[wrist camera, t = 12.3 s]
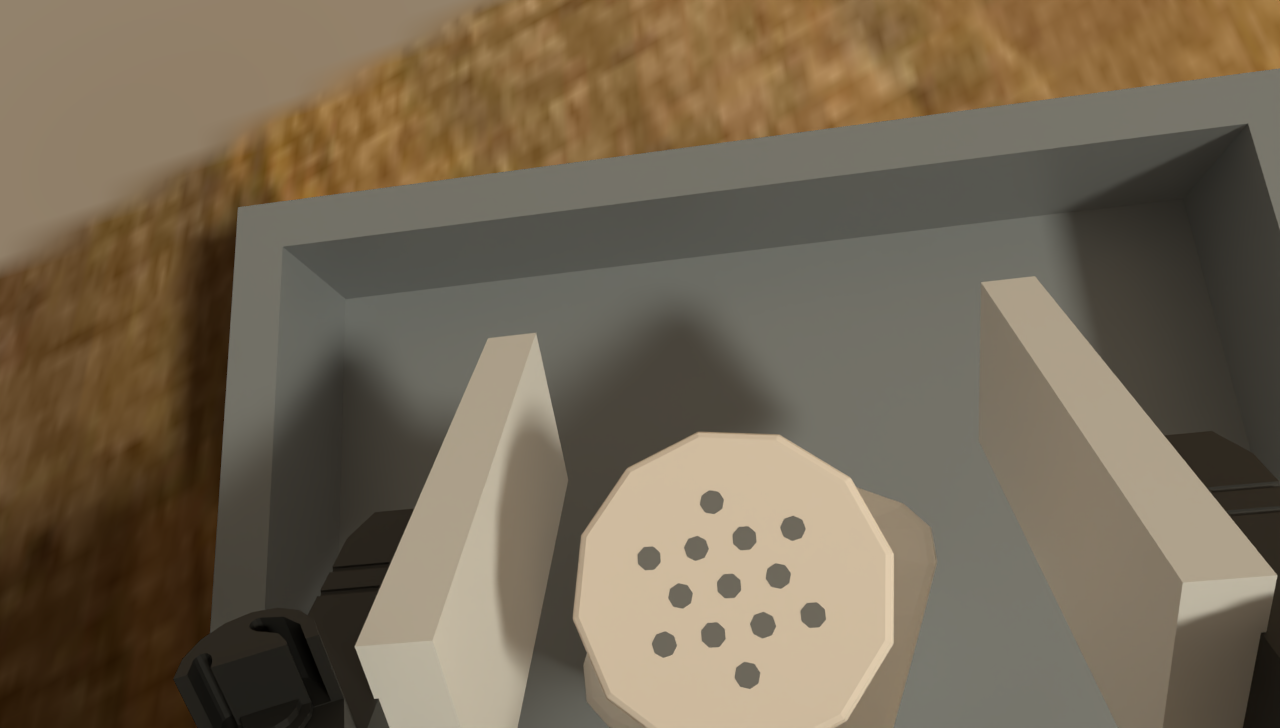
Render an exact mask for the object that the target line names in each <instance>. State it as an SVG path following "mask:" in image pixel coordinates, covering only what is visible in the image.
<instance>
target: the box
mask: <svg viewBox="0 0 1280 728" xmlns="http://www.w3.org/2000/svg"><path fill="white" fill-rule="evenodd" d="M1032 276H1035V277H1036V278H1037V279H1038V281H1039V282H1040V283H1041V284H1042V286H1043V287H1044V288H1045V289H1046V291H1047V292H1048V293H1049V294H1050V295H1051V297H1052V298H1053V299H1054V300H1055V302H1056V303H1057V304H1058V305H1059V307H1060V308H1061V309H1062V310H1063V311H1064V313H1065V314H1066V315H1067V316H1068V318H1069V319H1070V320H1071V321H1072V323H1073V324H1074V325H1075V326H1076V327H1077V329H1078V330H1079V331H1080V332H1081V334H1082V335H1083V336H1084V337H1085V339H1086V340H1087V341H1088V342H1089V344H1090V345H1091V346H1092V347H1093V348H1094V350H1095V351H1096V352H1097V353H1098V355H1099V356H1100V357H1101V358H1102V360H1103V361H1104V362H1105V363H1106V364H1107V366H1108V367H1109V368H1110V369H1111V371H1112V372H1113V373H1114V374H1115V376H1116V377H1117V378H1118V379H1119V381H1120V382H1121V383H1122V384H1123V385H1124V387H1125V388H1126V389H1127V390H1128V392H1129V393H1130V394H1131V395H1132V397H1133V398H1134V399H1135V400H1136V401H1137V403H1138V404H1139V405H1140V406H1141V408H1142V409H1143V410H1144V411H1145V413H1146V414H1147V415H1148V416H1149V418H1150V419H1151V420H1152V421H1153V422H1154V424H1155V425H1156V426H1157V427H1158V429H1159V430H1160V431H1161V432H1162V434H1163V435H1174V434H1184V433H1195V432H1206V431H1213V432H1215V433H1217V434H1218V435H1220V436H1222V437H1224V438H1226V439H1228V440H1230V441H1231V442H1233V443H1235V444H1237V445H1239V446H1241V447H1242V448H1244V449H1246V450H1248V451H1250V452H1252V453H1253V454H1254V455H1255V456H1256V457H1257V458H1258V459H1259V460H1260V461H1261V462H1262V463H1263V465H1264V466H1265V467H1266V468H1267V469H1268V470H1269V471H1270V472H1271V473H1272V474H1273V475H1274V476H1275V477H1276V478H1277V479H1278V481H1279V485H1280V69H1273V70H1265V71H1258V72H1250V73H1243V74H1235V75H1228V76H1220V77H1213V78H1205V79H1198V80H1190V81H1183V82H1175V83H1168V84H1160V85H1153V86H1145V87H1138V88H1130V89H1123V90H1115V91H1108V92H1100V93H1093V94H1085V95H1078V96H1070V97H1063V98H1055V99H1048V100H1040V101H1033V102H1025V103H1018V104H1010V105H1003V106H995V107H988V108H980V109H973V110H965V111H958V112H950V113H943V114H935V115H928V116H920V117H913V118H905V119H898V120H890V121H883V122H875V123H868V124H860V125H853V126H845V127H838V128H830V129H823V130H815V131H808V132H800V133H793V134H785V135H778V136H770V137H763V138H755V139H748V140H740V141H733V142H725V143H718V144H710V145H703V146H695V147H688V148H680V149H673V150H665V151H658V152H650V153H643V154H635V155H628V156H620V157H613V158H605V159H598V160H590V161H583V162H575V163H568V164H560V165H553V166H545V167H538V168H530V169H523V170H515V171H508V172H500V173H493V174H485V175H478V176H470V177H463V178H455V179H448V180H440V181H433V182H425V183H418V184H410V185H403V186H395V187H388V188H380V189H373V190H365V191H358V192H350V193H343V194H335V195H327V196H320V197H312V198H305V199H297V200H290V201H282V202H275V203H267V204H260V205H252V206H245V207H238V217H237V232H236V247H235V262H234V277H233V293H232V308H231V323H230V338H229V353H228V369H227V384H226V399H225V414H224V429H223V444H222V460H221V475H220V490H219V505H218V520H217V536H216V551H215V566H214V581H213V596H212V611H211V627H210V633H211V632H213V631H214V630H216V629H217V628H219V627H220V626H222V625H223V624H225V623H227V622H229V621H232V620H234V619H237V618H239V617H241V616H244V615H246V614H249V613H251V612H256V611H261V610H267V609H273V608H286V609H295V610H300V611H302V612H303V613H305V614H306V615H308V613H309V611H310V609H311V607H312V606H313V604H314V602H315V600H316V598H317V596H320V595H321V591H320V590H321V588H322V586H323V584H324V582H325V580H326V578H327V576H328V574H329V573H330V572H333V568H332V567H333V565H334V563H335V561H336V559H337V557H338V555H339V553H340V551H341V549H342V547H343V545H344V543H345V541H346V539H347V538H348V537H349V536H350V535H351V534H352V533H353V532H354V531H355V530H356V529H357V528H359V527H360V526H361V525H362V524H363V523H364V522H365V521H366V520H367V519H368V518H369V517H370V516H371V515H372V514H373V513H374V512H382V511H393V510H404V509H414V508H415V506H416V504H417V501H418V499H419V497H420V494H421V492H422V490H423V487H424V485H425V483H426V481H427V478H428V476H429V474H430V471H431V469H432V467H433V464H434V462H435V460H436V457H437V455H438V453H439V450H440V448H441V446H442V444H443V441H444V439H445V437H446V434H447V432H448V430H449V427H450V425H451V423H452V420H453V418H454V416H455V413H456V411H457V409H458V407H459V404H460V402H461V400H462V397H463V395H464V393H465V390H466V388H467V386H468V383H469V381H470V379H471V376H472V374H473V372H474V370H475V367H476V365H477V363H478V360H479V358H480V356H481V353H482V351H483V349H484V346H485V344H486V342H487V339H488V338H494V337H503V336H512V335H520V334H529V333H536V335H537V339H538V344H539V348H540V353H541V357H542V362H543V367H544V371H545V376H546V380H547V385H548V389H549V394H550V399H551V403H552V408H553V412H554V417H555V421H556V426H557V430H558V435H559V440H560V444H561V449H562V453H563V458H564V462H565V467H566V472H567V476H568V484H567V488H566V493H565V498H564V503H563V508H562V513H561V518H560V523H559V527H558V532H557V537H556V542H555V547H554V552H553V557H552V562H551V567H550V571H549V576H548V581H547V586H546V591H545V596H544V601H543V606H542V610H541V615H540V620H539V625H538V630H537V635H536V640H535V645H534V649H533V654H532V659H531V664H530V669H529V674H528V679H527V684H526V688H525V693H524V698H523V703H522V708H521V713H520V718H519V723H518V728H610V727H608V725H607V724H606V723H605V722H604V721H603V720H602V719H601V717H600V716H599V715H598V714H597V713H596V712H595V711H594V710H593V708H592V707H591V706H590V705H589V704H588V703H587V700H586V689H585V678H584V667H583V665H584V661H585V658H586V655H587V652H586V650H585V647H584V645H583V642H582V640H581V638H580V635H579V633H578V631H577V628H576V626H575V624H574V621H573V610H574V600H575V590H576V580H577V571H578V561H579V551H580V541H581V535H582V533H583V532H584V530H585V529H586V527H587V526H588V524H589V523H590V522H591V520H592V519H593V517H594V516H595V514H596V513H597V511H598V510H599V508H600V507H601V505H602V504H603V502H604V501H605V499H606V498H607V497H608V495H609V494H610V492H611V491H612V489H613V488H614V486H615V485H616V483H617V482H618V480H619V479H620V477H621V476H622V474H623V473H624V472H625V470H626V469H627V468H628V467H630V466H632V465H634V464H636V463H638V462H640V461H642V460H644V459H646V458H648V457H650V456H651V455H653V454H655V453H657V452H659V451H661V450H663V449H665V448H667V447H669V446H671V445H673V444H675V443H677V442H679V441H681V440H683V439H685V438H687V437H689V436H691V435H693V434H695V433H696V432H723V433H752V434H779V435H781V436H782V437H784V438H786V439H787V440H789V441H791V442H792V443H794V444H796V445H797V446H799V447H801V448H802V449H804V450H806V451H807V452H809V453H811V454H812V455H814V456H816V457H817V458H819V459H821V460H822V461H824V462H825V463H827V464H829V465H830V466H832V467H834V468H835V469H837V470H839V471H840V472H842V473H844V474H845V475H847V476H849V477H850V478H851V479H852V481H853V483H854V484H855V486H856V487H858V488H860V489H863V490H866V491H869V492H872V493H875V494H878V495H880V496H883V497H886V498H889V499H892V500H895V501H898V502H900V503H903V504H905V505H906V506H907V507H908V508H909V509H910V510H911V511H913V512H914V513H915V514H916V515H917V516H918V517H919V518H921V519H922V520H923V521H924V522H925V523H926V524H927V525H929V526H930V527H931V530H932V535H933V541H934V546H935V552H936V557H937V564H936V568H935V572H934V576H933V580H932V584H931V588H930V592H929V596H928V600H927V604H926V608H925V612H924V616H923V620H922V623H921V627H920V631H919V635H918V639H917V642H916V646H915V650H914V654H913V658H912V661H911V665H910V669H909V673H908V676H907V680H906V683H905V687H904V691H903V694H902V698H901V702H900V705H899V709H898V713H897V716H896V720H895V723H894V727H893V728H1118V726H1117V724H1116V722H1115V720H1114V718H1113V716H1112V714H1111V712H1110V710H1109V708H1108V706H1107V704H1106V702H1105V700H1104V698H1103V696H1102V693H1101V691H1100V689H1099V687H1098V685H1097V683H1096V681H1095V679H1094V677H1093V675H1092V673H1091V671H1090V669H1089V667H1088V665H1087V663H1086V661H1085V658H1084V656H1083V654H1082V652H1081V650H1080V648H1079V646H1078V644H1077V642H1076V640H1075V638H1074V636H1073V634H1072V632H1071V630H1070V628H1069V625H1068V623H1067V621H1066V619H1065V617H1064V615H1063V613H1062V611H1061V609H1060V607H1059V605H1058V603H1057V601H1056V599H1055V597H1054V595H1053V593H1052V590H1051V588H1050V586H1049V584H1048V582H1047V580H1046V578H1045V576H1044V574H1043V572H1042V570H1041V568H1040V566H1039V564H1038V562H1037V560H1036V558H1035V555H1034V553H1033V551H1032V549H1031V547H1030V545H1029V543H1028V541H1027V539H1026V537H1025V535H1024V533H1023V531H1022V529H1021V527H1020V525H1019V523H1018V520H1017V518H1016V516H1015V514H1014V512H1013V510H1012V508H1011V506H1010V504H1009V502H1008V500H1007V498H1006V496H1005V494H1004V492H1003V490H1002V488H1001V485H1000V483H999V481H998V479H997V477H996V475H995V473H994V471H993V469H992V467H991V465H990V463H989V461H988V459H987V457H986V455H985V453H984V450H983V448H982V446H981V444H980V442H979V384H980V313H981V282H988V281H997V280H1005V279H1014V278H1023V277H1032Z"/></svg>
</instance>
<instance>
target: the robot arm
mask: <svg viewBox="0 0 1280 728" xmlns="http://www.w3.org/2000/svg"><path fill="white" fill-rule="evenodd" d="M979 442H980V444H981V446H982V448H983V450H984V453H985V455H986V457H987V459H988V461H989V463H990V465H991V467H992V469H993V471H994V473H995V475H996V477H997V479H998V481H999V483H1000V485H1001V488H1002V490H1003V492H1004V494H1005V496H1006V498H1007V500H1008V502H1009V504H1010V506H1011V508H1012V510H1013V512H1014V514H1015V516H1016V518H1017V520H1018V523H1019V525H1020V527H1021V529H1022V531H1023V533H1024V535H1025V537H1026V539H1027V541H1028V543H1029V545H1030V547H1031V549H1032V551H1033V553H1034V555H1035V558H1036V560H1037V562H1038V564H1039V566H1040V568H1041V570H1042V572H1043V574H1044V576H1045V578H1046V580H1047V582H1048V584H1049V586H1050V588H1051V590H1052V593H1053V595H1054V597H1055V599H1056V601H1057V603H1058V605H1059V607H1060V609H1061V611H1062V613H1063V615H1064V617H1065V619H1066V621H1067V623H1068V625H1069V628H1070V630H1071V632H1072V634H1073V636H1074V638H1075V640H1076V642H1077V644H1078V646H1079V648H1080V650H1081V652H1082V654H1083V656H1084V658H1085V661H1086V663H1087V665H1088V667H1089V669H1090V671H1091V673H1092V675H1093V677H1094V679H1095V681H1096V683H1097V685H1098V687H1099V689H1100V691H1101V693H1102V696H1103V698H1104V700H1105V702H1106V704H1107V706H1108V708H1109V710H1110V712H1111V714H1112V716H1113V718H1114V720H1115V722H1116V724H1117V726H1118V728H1280V485H1279V481H1278V479H1277V478H1276V477H1275V476H1274V475H1273V474H1272V473H1271V472H1270V471H1269V470H1268V469H1267V468H1266V467H1265V466H1264V465H1263V463H1262V462H1261V461H1260V460H1259V459H1258V458H1257V457H1256V456H1255V455H1254V454H1253V453H1252V452H1250V451H1248V450H1246V449H1244V448H1242V447H1241V446H1239V445H1237V444H1235V443H1233V442H1231V441H1230V440H1228V439H1226V438H1224V437H1222V436H1220V435H1218V434H1217V433H1215V432H1213V431H1206V432H1195V433H1184V434H1174V435H1163V434H1162V432H1161V431H1160V430H1159V429H1158V427H1157V426H1156V425H1155V424H1154V422H1153V421H1152V420H1151V419H1150V418H1149V416H1148V415H1147V414H1146V413H1145V411H1144V410H1143V409H1142V408H1141V406H1140V405H1139V404H1138V403H1137V401H1136V400H1135V399H1134V398H1133V397H1132V395H1131V394H1130V393H1129V392H1128V390H1127V389H1126V388H1125V387H1124V385H1123V384H1122V383H1121V382H1120V381H1119V379H1118V378H1117V377H1116V376H1115V374H1114V373H1113V372H1112V371H1111V369H1110V368H1109V367H1108V366H1107V364H1106V363H1105V362H1104V361H1103V360H1102V358H1101V357H1100V356H1099V355H1098V353H1097V352H1096V351H1095V350H1094V348H1093V347H1092V346H1091V345H1090V344H1089V342H1088V341H1087V340H1086V339H1085V337H1084V336H1083V335H1082V334H1081V332H1080V331H1079V330H1078V329H1077V327H1076V326H1075V325H1074V324H1073V323H1072V321H1071V320H1070V319H1069V318H1068V316H1067V315H1066V314H1065V313H1064V311H1063V310H1062V309H1061V308H1060V307H1059V305H1058V304H1057V303H1056V302H1055V300H1054V299H1053V298H1052V297H1051V295H1050V294H1049V293H1048V292H1047V291H1046V289H1045V288H1044V287H1043V286H1042V284H1041V283H1040V282H1039V281H1038V279H1037V278H1036V277H1035V276H1032V277H1023V278H1014V279H1005V280H997V281H988V282H981V313H980V384H979ZM567 484H568V476H567V472H566V467H565V462H564V458H563V453H562V449H561V444H560V440H559V435H558V430H557V426H556V421H555V417H554V412H553V408H552V403H551V399H550V394H549V389H548V385H547V380H546V376H545V371H544V367H543V362H542V357H541V353H540V348H539V344H538V339H537V335H536V333H529V334H520V335H512V336H503V337H494V338H488V339H487V342H486V344H485V346H484V349H483V351H482V353H481V356H480V358H479V360H478V363H477V365H476V367H475V370H474V372H473V374H472V376H471V379H470V381H469V383H468V386H467V388H466V390H465V393H464V395H463V397H462V400H461V402H460V404H459V407H458V409H457V411H456V413H455V416H454V418H453V420H452V423H451V425H450V427H449V430H448V432H447V434H446V437H445V439H444V441H443V444H442V446H441V448H440V450H439V453H438V455H437V457H436V460H435V462H434V464H433V467H432V469H431V471H430V474H429V476H428V478H427V481H426V483H425V485H424V487H423V490H422V492H421V494H420V497H419V499H418V501H417V504H416V506H415V508H414V509H404V510H393V511H382V512H374V513H373V514H372V515H371V516H370V517H369V518H368V519H367V520H366V521H365V522H364V523H363V524H362V525H361V526H360V527H359V528H357V529H356V530H355V531H354V532H353V533H352V534H351V535H350V536H349V537H348V538H347V539H346V541H345V543H344V545H343V547H342V549H341V551H340V553H339V555H338V557H337V559H336V561H335V563H334V565H333V567H332V568H333V572H330V573H329V574H328V576H327V578H326V580H325V582H324V584H323V586H322V588H321V590H320V591H321V595H320V596H317V598H316V600H315V602H314V604H313V606H312V607H311V609H310V611H309V613H308V615H306V614H305V613H303V612H302V611H300V610H295V609H286V608H273V609H267V610H261V611H256V612H251V613H249V614H246V615H244V616H241V617H239V618H237V619H234V620H232V621H229V622H227V623H225V624H223V625H222V626H220V627H219V628H217V629H216V630H214V631H213V632H211V633H210V634H208V635H207V636H205V637H204V638H202V639H201V640H200V641H199V642H198V643H197V644H196V645H195V646H194V647H193V648H192V649H191V651H190V652H189V653H188V654H187V655H186V656H185V657H184V658H183V659H182V661H181V663H180V666H179V668H178V670H177V672H176V674H175V676H174V678H173V680H174V682H175V684H176V686H177V688H178V690H179V692H180V694H181V696H182V698H183V700H184V702H185V704H186V706H187V707H188V709H189V711H190V713H191V715H192V717H193V719H194V721H195V723H196V725H197V727H198V728H518V723H519V718H520V713H521V708H522V703H523V698H524V693H525V688H526V684H527V679H528V674H529V669H530V664H531V659H532V654H533V649H534V645H535V640H536V635H537V630H538V625H539V620H540V615H541V610H542V606H543V601H544V596H545V591H546V586H547V581H548V576H549V571H550V567H551V562H552V557H553V552H554V547H555V542H556V537H557V532H558V527H559V523H560V518H561V513H562V508H563V503H564V498H565V493H566V488H567Z"/></svg>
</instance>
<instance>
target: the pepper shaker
mask: <svg viewBox="0 0 1280 728" xmlns="http://www.w3.org/2000/svg"><path fill="white" fill-rule="evenodd" d="M936 564H937V557H936V552H935V546H934V541H933V535H932V530H931V527H930V526H929V525H927V524H926V523H925V522H924V521H923V520H922V519H921V518H919V517H918V516H917V515H916V514H915V513H914V512H913V511H911V510H910V509H909V508H908V507H907V506H906V505H905V504H903V503H900V502H898V501H895V500H892V499H889V498H886V497H883V496H880V495H878V494H875V493H872V492H869V491H866V490H863V489H860V488H858V487H856V486H855V484H854V483H853V481H852V479H851V478H850V477H849V476H847V475H845V474H844V473H842V472H840V471H839V470H837V469H835V468H834V467H832V466H830V465H829V464H827V463H825V462H824V461H822V460H821V459H819V458H817V457H816V456H814V455H812V454H811V453H809V452H807V451H806V450H804V449H802V448H801V447H799V446H797V445H796V444H794V443H792V442H791V441H789V440H787V439H786V438H784V437H782V436H781V435H779V434H752V433H723V432H696V433H695V434H693V435H691V436H689V437H687V438H685V439H683V440H681V441H679V442H677V443H675V444H673V445H671V446H669V447H667V448H665V449H663V450H661V451H659V452H657V453H655V454H653V455H651V456H650V457H648V458H646V459H644V460H642V461H640V462H638V463H636V464H634V465H632V466H630V467H628V468H627V469H626V470H625V472H624V473H623V474H622V476H621V477H620V479H619V480H618V482H617V483H616V485H615V486H614V488H613V489H612V491H611V492H610V494H609V495H608V497H607V498H606V499H605V501H604V502H603V504H602V505H601V507H600V508H599V510H598V511H597V513H596V514H595V516H594V517H593V519H592V520H591V522H590V523H589V524H588V526H587V527H586V529H585V530H584V532H583V533H582V535H581V541H580V551H579V561H578V571H577V580H576V590H575V600H574V610H573V621H574V624H575V626H576V628H577V631H578V633H579V635H580V638H581V640H582V642H583V645H584V647H585V650H586V652H587V655H586V658H585V661H584V665H583V667H584V678H585V689H586V700H587V703H588V704H589V705H590V706H591V707H592V708H593V710H594V711H595V712H596V713H597V714H598V715H599V716H600V717H601V719H602V720H603V721H604V722H605V723H606V724H607V725H608V727H610V728H893V727H894V723H895V720H896V716H897V713H898V709H899V705H900V702H901V698H902V694H903V691H904V687H905V683H906V680H907V676H908V673H909V669H910V665H911V661H912V658H913V654H914V650H915V646H916V642H917V639H918V635H919V631H920V627H921V623H922V620H923V616H924V612H925V608H926V604H927V600H928V596H929V592H930V588H931V584H932V580H933V576H934V572H935V568H936Z"/></svg>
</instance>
